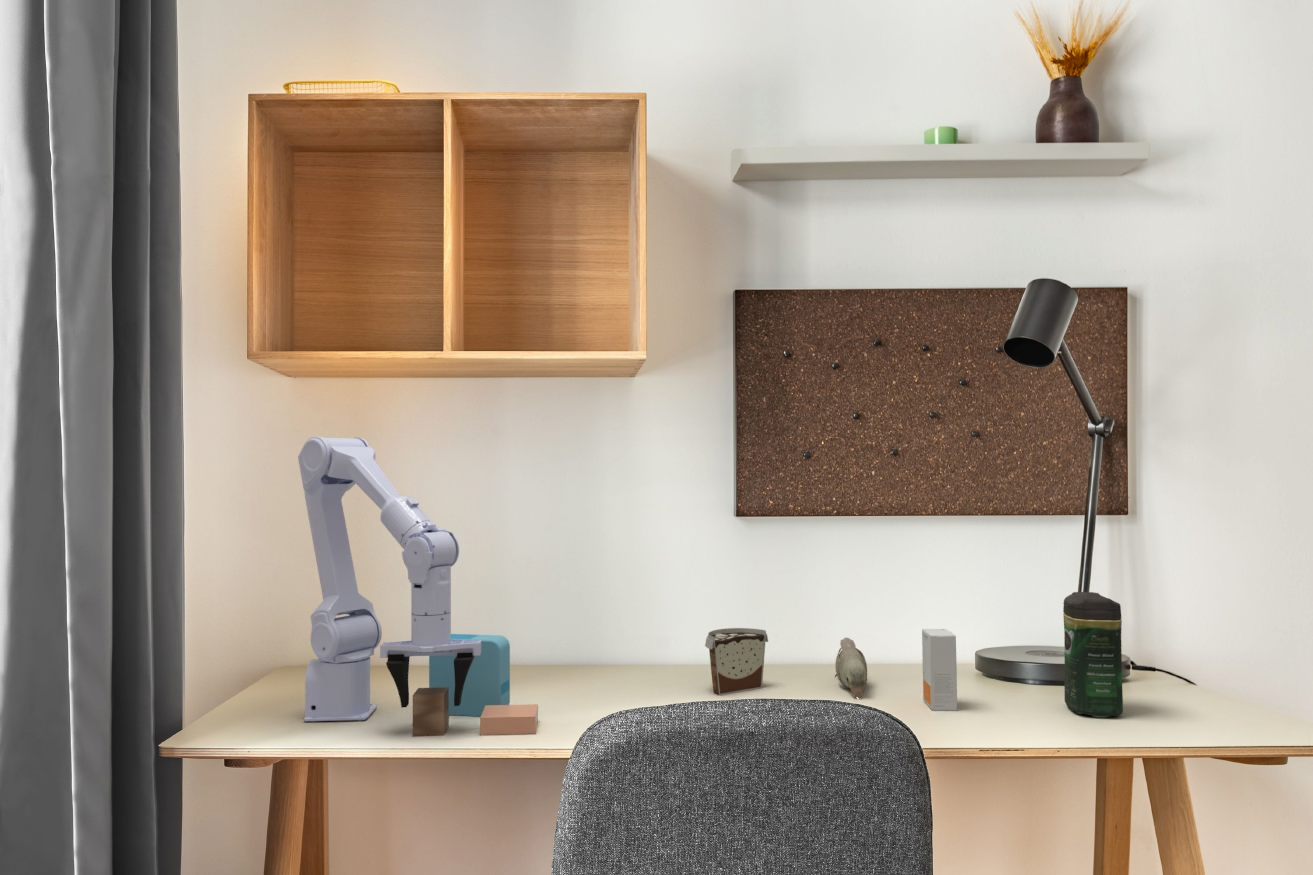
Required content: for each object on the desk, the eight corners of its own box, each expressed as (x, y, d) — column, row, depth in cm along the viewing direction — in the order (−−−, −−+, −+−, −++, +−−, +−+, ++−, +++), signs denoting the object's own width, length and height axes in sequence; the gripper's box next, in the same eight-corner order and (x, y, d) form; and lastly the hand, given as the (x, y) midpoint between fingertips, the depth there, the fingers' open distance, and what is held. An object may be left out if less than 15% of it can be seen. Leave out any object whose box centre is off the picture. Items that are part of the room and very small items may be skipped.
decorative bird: (841, 700, 155) (841, 654, 155) (832, 678, 171) (831, 637, 171) (874, 700, 155) (873, 655, 155) (861, 678, 171) (860, 637, 171)
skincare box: (922, 701, 154) (921, 628, 154) (948, 701, 153) (947, 628, 154) (931, 710, 147) (929, 635, 148) (958, 711, 147) (957, 635, 148)
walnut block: (412, 736, 135) (412, 695, 135) (418, 727, 139) (418, 687, 140) (443, 735, 135) (443, 694, 136) (448, 727, 140) (448, 687, 140)
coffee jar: (1130, 720, 141) (1127, 597, 142) (1074, 717, 143) (1072, 596, 143) (1111, 704, 151) (1109, 589, 151) (1059, 701, 152) (1057, 588, 153)
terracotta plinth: (480, 734, 135) (480, 717, 136) (485, 721, 142) (485, 705, 142) (535, 733, 136) (535, 716, 136) (538, 720, 143) (538, 704, 143)
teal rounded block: (510, 710, 149) (510, 635, 150) (500, 717, 145) (500, 640, 145) (440, 706, 152) (440, 633, 152) (428, 714, 147) (428, 638, 147)
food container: (747, 680, 169) (746, 625, 169) (768, 686, 164) (768, 630, 164) (691, 689, 162) (691, 631, 163) (711, 696, 157) (711, 637, 158)
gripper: (375, 618, 133) (375, 713, 133) (477, 615, 134) (477, 710, 134) (386, 610, 140) (386, 701, 140) (482, 608, 141) (483, 698, 141)
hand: (431, 704), depth 137 cm, fingers open, 7 cm apart
